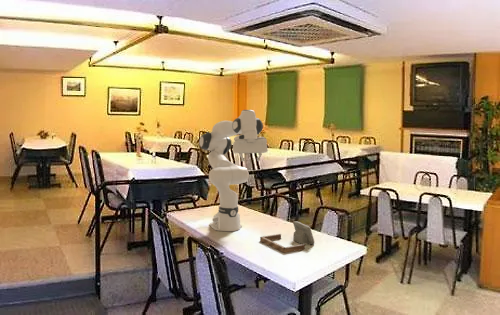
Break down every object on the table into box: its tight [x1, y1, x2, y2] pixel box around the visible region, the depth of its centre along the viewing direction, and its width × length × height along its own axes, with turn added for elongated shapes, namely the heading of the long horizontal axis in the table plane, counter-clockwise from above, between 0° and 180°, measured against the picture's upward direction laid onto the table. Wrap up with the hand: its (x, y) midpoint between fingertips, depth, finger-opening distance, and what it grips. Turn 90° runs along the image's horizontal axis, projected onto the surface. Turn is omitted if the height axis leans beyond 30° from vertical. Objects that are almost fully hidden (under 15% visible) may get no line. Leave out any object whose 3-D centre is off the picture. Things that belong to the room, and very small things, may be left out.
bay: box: [259, 233, 306, 254], centre depth 250 cm, size 24×13×2 cm, turn 31°
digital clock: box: [292, 220, 315, 245], centre depth 257 cm, size 16×9×11 cm, turn 14°
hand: (250, 160), depth 258 cm, fingers open, 8 cm apart
